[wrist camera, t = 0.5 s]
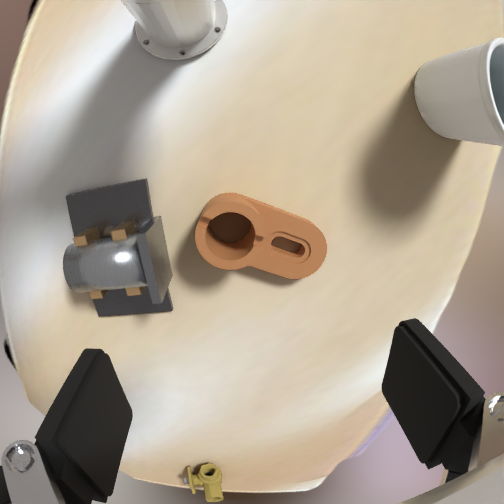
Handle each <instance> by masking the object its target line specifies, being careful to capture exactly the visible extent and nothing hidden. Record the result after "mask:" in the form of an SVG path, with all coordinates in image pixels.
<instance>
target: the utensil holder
mask: <svg viewBox="0 0 504 504" xmlns="http://www.w3.org/2000/svg"><path fill="white" fill-rule="evenodd" d="M414 95H415V100H416V104H417V107H418V110H419V112H420V114H421V116H422V118H423V119H424V121H425V122H426V124H427V125H428V126H429V127H430V128H431V129H432V130H433V131H434V132H435V133H437V134H439V135H441V136H443V137H446V138H450V139H457V140H464V141H471V142H478V143H485V144H492V145H499V146H504V38H496V39H492V40H490V41H489V42H487V43H485V44H480V45H477V46H473V47H470V48H467V49H463V50H460V51H457V52H453V53H450V54H447V55H444V56H441V57H439V58H436V59H434V60H431V61H429V62H427V63H425V64H424V65H423V66H421V68H420V69H419V70H418V72H417V74H416V77H415V82H414Z"/></svg>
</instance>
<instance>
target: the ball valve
mask: <svg viewBox="0 0 504 504" xmlns="http://www.w3.org/2000/svg"><path fill="white" fill-rule="evenodd" d="M187 469H188V476H189V477H185V478H184V483H185V484H190V488H191V489H192V492H193V494H196V492H195V485H200V486H204V491H205V496H206V500H207V501H208V502H219V501H221V500H223V495H222V488H221V483H222V478H221V477H222V474H221V471H220V470H219V469H218V468H217V467H216V465H213V464H210V463H208V464H205V465H202V466H201V469H200V470H199V474H197V475H193V473H192V472H191V468H190V466H188V467H187Z"/></svg>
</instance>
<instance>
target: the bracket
mask: <svg viewBox="0 0 504 504" xmlns="http://www.w3.org/2000/svg"><path fill="white" fill-rule="evenodd" d="M226 212H235V213H239V214H242V215H244V216H245V217H247V218H248V219H249V220H250V221H251V229H250V231H249V233H248V234H247V236H246V237H245V238H243V239H242V240H240V241H238V242H235V243H225V242H222V241H220V240H218V239H217V238H215V237H214V235H213V234H212V233H211V231H210V228H209V222H210V220H211V219H213V218H215V217H216V216H218V215H220V214H222V213H226ZM278 236H281V237H284V238H287V239H290V240H293V241H295V242H298V243H301V248H300V250H299V251H297V252H290V251H287V250H284V249H281V248H278V247H276V246H273V245H271V242H272V240H273V239H274V238H275V237H278ZM195 242H196V246H197V249H198V251H199V253H200V254H201V256H202V257H203V258H204V259H205V260H206V261H207V262H208V263H210V264H211V265H213V266H215V267H217V268H220V269H225V270H236V269H240V268H243V267H246V266H248V265H249V266H252V267H255V268H258V269H261V270H264V271H267V272H270V273H273V274H276V275H279V276H282V277H285V278H289V279H301V278H305V277H307V276H309V275H311V274H313V273H314V272H316V271H317V270H318V269H319V268H320V266H321V265H322V263H323V262H324V260H325V257H326V253H327V244H326V240H325V237H324V235H323V233H322V232H321V231H320V230H319V229H318V228H317V227H316V226H315V225H314V224H313V223H312V222H310V221H309V220H307V219H304V218H302V217H299V216H297V215H294V214H292V213H289V212H286V211H284V210H281V209H278V208H276V207H273V206H270V205H268V204H265V203H262V202H260V201H257V200H254V199H252V198H249V197H246V196H243V195H241V194H237V193H223V194H220V195H217V196H215V197H214V198H212V199H211V200H210V201H209V202H208V203H207V204H206V205H205V207H204V208H203V210H202V213H201V216H200V218H199V221H198V224H197V227H196V230H195Z"/></svg>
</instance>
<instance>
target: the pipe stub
mask: <svg viewBox="0 0 504 504" xmlns="http://www.w3.org/2000/svg"><path fill="white" fill-rule="evenodd" d="M66 200H67V205H68V209H69V214H70V219H71V223H72V227H73V232H74V236H75V237H74V238H73V239H74V244H70V245H69V246H68V247H67V249H66V251H65V253H64V258H63V270H64V275H65V279H66V282H67V284H68V286H69V287H70V288H71V290H72V291H74V292H76V293H82V292H89V294H90V297H91V299H93V301H94V303H95V306H96V309H97V312H98V315H99V316H112V315H127V314H140V313H152V312H164V311H172V310H173V305H172V301H171V297H170V293H169V289H168V286H169V283H170V281H171V278H172V276H173V275H172V270H171V266H170V261H169V256H168V251H167V246H166V241H165V236H164V231H163V225H162V220H161V216H158V217H153V212H152V206H151V201H150V195H149V189H148V182H147V179H141V180H136V181H131V182H126V183H121V184H116V185H111V186H106V187H102V188H97V189H93V190H88V191H84V192H80V193H75V194H71V195H68V196H66Z"/></svg>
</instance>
